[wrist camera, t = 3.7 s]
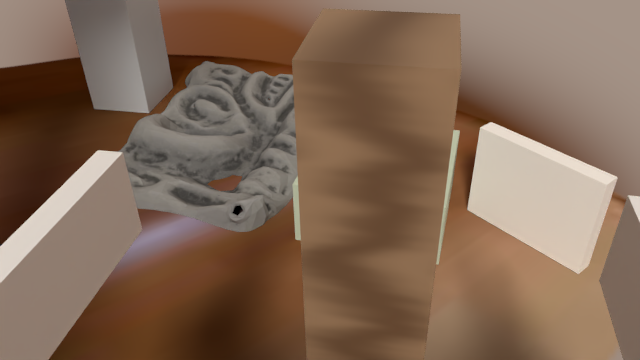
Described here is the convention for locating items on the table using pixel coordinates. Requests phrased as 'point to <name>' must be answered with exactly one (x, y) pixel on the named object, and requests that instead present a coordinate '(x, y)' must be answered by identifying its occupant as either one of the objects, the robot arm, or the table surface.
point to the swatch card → (539, 195)
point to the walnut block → (373, 176)
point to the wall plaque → (218, 148)
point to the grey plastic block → (122, 52)
